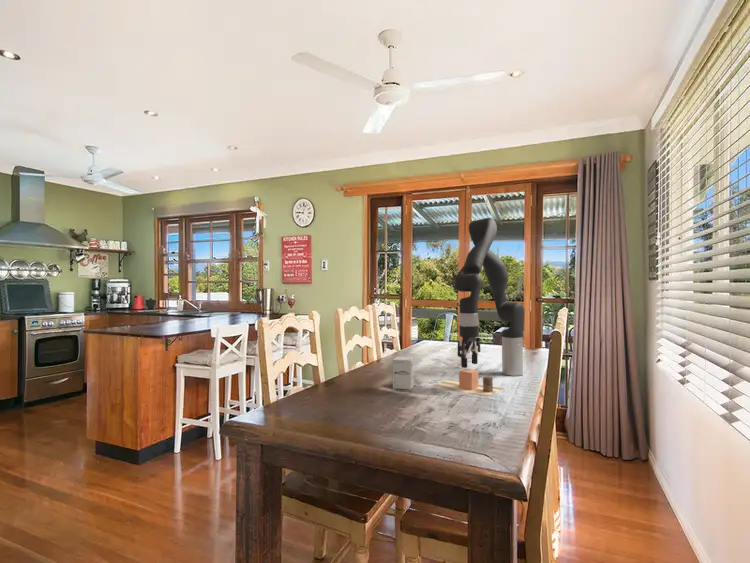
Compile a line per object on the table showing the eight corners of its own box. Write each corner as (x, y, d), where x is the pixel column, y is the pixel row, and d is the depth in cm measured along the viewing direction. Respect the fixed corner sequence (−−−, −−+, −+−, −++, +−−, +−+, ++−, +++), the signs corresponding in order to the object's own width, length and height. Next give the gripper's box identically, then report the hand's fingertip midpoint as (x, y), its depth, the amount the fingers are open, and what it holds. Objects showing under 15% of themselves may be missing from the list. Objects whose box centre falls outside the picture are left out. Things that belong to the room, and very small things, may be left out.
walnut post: (486, 389, 159) (486, 376, 159) (492, 390, 158) (492, 377, 158) (483, 391, 157) (483, 377, 157) (489, 392, 156) (489, 378, 156)
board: (449, 382, 177) (449, 379, 177) (503, 391, 161) (503, 388, 161) (430, 389, 166) (430, 386, 166) (486, 399, 150) (486, 396, 150)
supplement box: (392, 391, 162) (392, 359, 162) (395, 386, 170) (395, 356, 170) (411, 392, 161) (410, 360, 161) (413, 387, 168) (413, 356, 168)
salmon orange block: (466, 385, 167) (465, 368, 167) (478, 387, 163) (478, 370, 163) (459, 387, 162) (459, 371, 162) (471, 390, 159) (471, 373, 159)
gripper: (468, 322, 171) (469, 361, 171) (451, 325, 160) (451, 367, 160) (485, 323, 166) (486, 363, 166) (468, 326, 155) (469, 370, 155)
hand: (469, 365), depth 163 cm, fingers open, 8 cm apart
